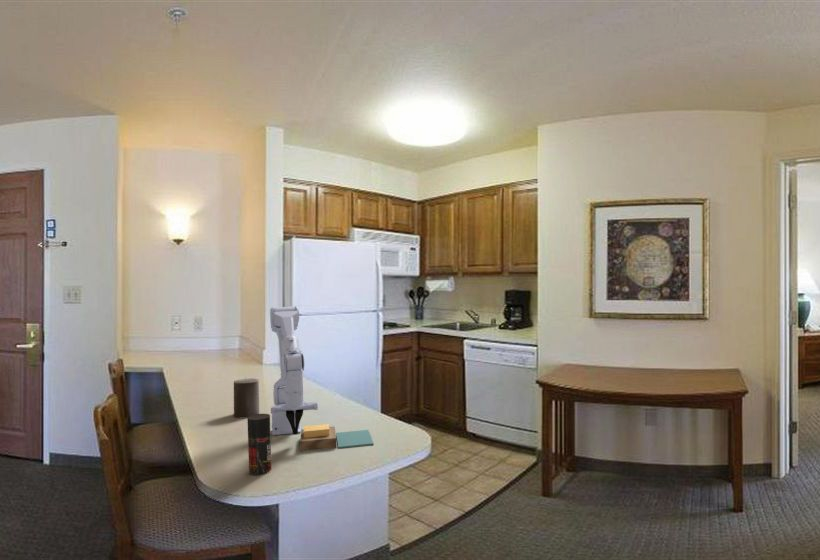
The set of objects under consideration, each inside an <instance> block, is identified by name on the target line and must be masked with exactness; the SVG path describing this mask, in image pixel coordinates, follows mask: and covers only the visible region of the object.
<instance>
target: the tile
mask: <svg viewBox="0 0 820 560" xmlns="http://www.w3.org/2000/svg"><path fill="white" fill-rule="evenodd" d="M329 427H330V424H329V423H326V424H325V423H323V424H314V425H312V424H311V425H304V426H303V429H304V438H307V437H318V436H328V435H329Z"/></svg>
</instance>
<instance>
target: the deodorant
mask: <svg viewBox="0 0 820 560" xmlns="http://www.w3.org/2000/svg"><path fill="white" fill-rule="evenodd" d="M246 418H247V446H248V450H247V452H248V473H250V475H251V474H252V475H251V476H261V474H262V475H265V473H266V474H268V473H269V471H270V470H271V471H272V444H271V443H272V441H271V439H272V437H271V436H272V435H271V416H270V414H268V413H259V414H255V415H251V416H249V417H246ZM271 471H270V472H271ZM267 472H268V473H267Z"/></svg>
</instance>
